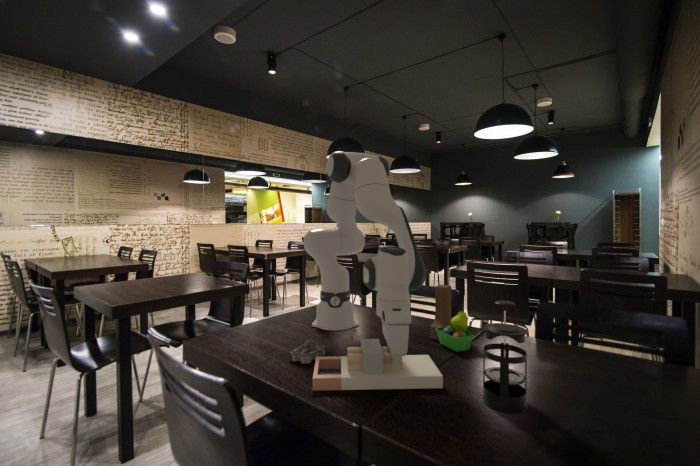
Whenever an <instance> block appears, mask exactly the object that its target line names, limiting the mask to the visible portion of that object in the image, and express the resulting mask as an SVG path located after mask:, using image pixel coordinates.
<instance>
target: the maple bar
mask: <svg viewBox="0 0 700 466" xmlns="http://www.w3.org/2000/svg"><path fill="white" fill-rule="evenodd" d="M381 348H382V350H383V370H402V356H400V360H399V367H393V366H392V354H391V352H390V349H389V347H387V346H381ZM346 349H347V355H346V356H347V362H348V371H363V352H362V347H361V346H347V348H346Z"/></svg>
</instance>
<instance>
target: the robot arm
mask: <svg viewBox="0 0 700 466" xmlns="http://www.w3.org/2000/svg"><path fill="white" fill-rule="evenodd" d="M325 168H326V169H325V170H326V175H327V177H328V179H329V180H330V181H331V185H330V188H329V194H328V198H327V199H328V200H327V205H326V214H327V217H329V218H330V219H331V220H332V221H334V222H335V223H336V226H335V227H331V228H330V227H329V228H326V227H324V228H322V227H321V228H315V229H311V230H308V231H307V232H306V233H305V235H304V237H303V247H304V248H303V249H304V250H305V252H306V253H307V254H308V255H309V256H310V257H312V259H313V260H314V261H315V262H316V263H317V266H318V268H319V271H320V281H321V282H320V284H321V285H320V287H321V290H320V293H319V296H320V302H319V303H317V305H316V308H315V309H316V314H315V315H316V318H315V320H314V321H313V322H312V323H311V327H313V328H314V327H315V328H318V329H321V330H324V331H345V330H348V329H351V328H355V327H359V326H360V322H359V321H358V320H357V319H356V318H355V305H354V304H353V303H352V301H351V290H350V273H349V270H348V269H347V268H346V266H343V265H342V264H339V262H338V259H337V258H338V256H351V255H356V254H358V253H361V252H362V251H363V250H364V247H365V244H366V238H365V235H364V233H363V232H362V230H360V229H359V227H358V226H357V222H356V214H357V213H356V211H357V210H358V212H359V213H360V214H361V215H362V216H363V217H365V218H366V219H368V220H369V221H371V222H374V223H377V224H379V225H383V226H384V227H387V228H389V230H391V231H392V232H393V234H394V236H395V238H396V242H397V244H398V247H396V246H383V247H380V248H379V249H378V251H377V255H375V256H373V257H370V258H368V259H367V260H366V261H365V262H364V264H363V265H362V283H363V284H364V286H366V287H367V288H368V289H369V290H371V291H376V301H375V302H376V309H375V310H376V311H375V312H376V316H377V317H379V318H380V321H381V323H382V324H381V332H382V334H383V336H384V339H385V342H386V347H389V349H390V352H391V354H392V366H393V367H399V360H400V356H406V355H408V354H407V353H408V348H409V338H410V325H409V324H412V314H411V295H410V294H411V293H410V291H413V292H414V291H417V290H419V288H421V287H422V286H423V284H424V283H425V281H426V280H427V267H426V265H425V262H424V260H423V259H422V257H421V255H420V252H419V250H418V247H417V245H416V241H415V239H414V238H415V237H414V235H413V231H412V229H411V225H410V223H409V222H410V221H409V220H408V217H407V214H406V212H405V211H404V209H403V208H402V207H401V205H398V204H397V202H396V201H395V200H394V198H393V196H392V193H391V190H390V189H391V188H390V183H389V179H388V178H389V174H390V165H389V162H388V160H387V159H386V158H384V157H383V156H380V155H373V154H369V153H365V152H353V151H351V152H350V151H348V152H347V151H345V152H344V151H341V150H340V151H334V152H332V153H330V155H329V156H328V157H327V162H326V167H325Z"/></svg>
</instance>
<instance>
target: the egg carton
mask: <svg viewBox="0 0 700 466" xmlns="http://www.w3.org/2000/svg"><path fill="white" fill-rule="evenodd" d="M326 347H328V345H325V344H323V345H322V343H320V344H319V345H318V343H317V341H315V340H313V339H312V338H310V339H307V340H306V341H304V342H303V344H301V345H299V347H296V348H294V349H293V350H292V351H289V353H290V354H291V356H292V362H300V364H304V365H305V364H311V363H312V361H313V360H315V361H316V357H323V356H326Z"/></svg>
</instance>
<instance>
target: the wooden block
mask: <svg viewBox="0 0 700 466" xmlns="http://www.w3.org/2000/svg"><path fill="white" fill-rule="evenodd" d="M434 292H435V293H434V294H435V295H434V296H435V300H434V301H435V302H434V303H435V305H434V306H435V310H434V312H435V313H434V320H433V323H432V324H431V325H429V326H430V327H429V339H432V340H436V341H439V338H438V334H437V331H436V328H439V327H446V326H452V323H451V319H452V285H448V284H447V285H446V284H438V285H436V286H435V288H434Z"/></svg>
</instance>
